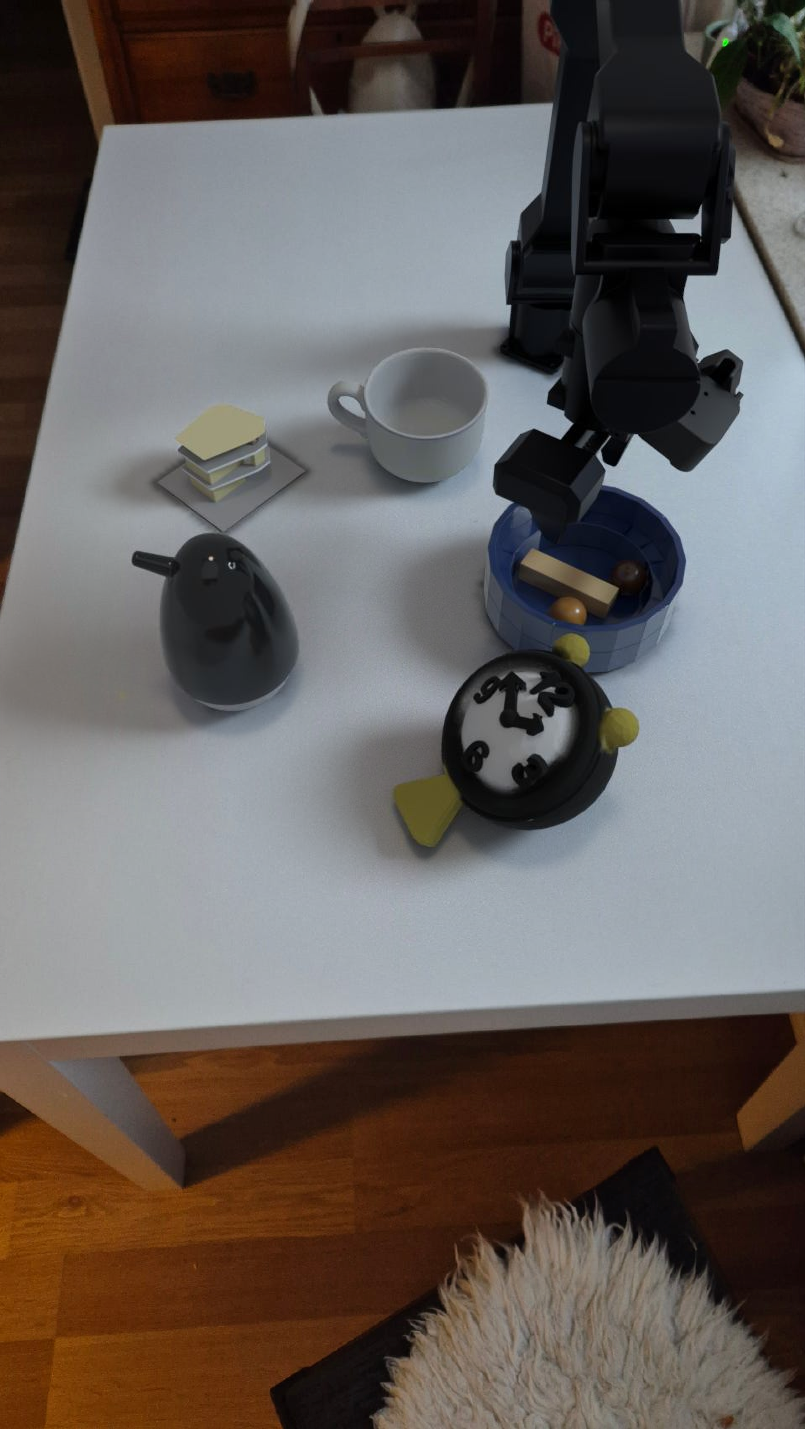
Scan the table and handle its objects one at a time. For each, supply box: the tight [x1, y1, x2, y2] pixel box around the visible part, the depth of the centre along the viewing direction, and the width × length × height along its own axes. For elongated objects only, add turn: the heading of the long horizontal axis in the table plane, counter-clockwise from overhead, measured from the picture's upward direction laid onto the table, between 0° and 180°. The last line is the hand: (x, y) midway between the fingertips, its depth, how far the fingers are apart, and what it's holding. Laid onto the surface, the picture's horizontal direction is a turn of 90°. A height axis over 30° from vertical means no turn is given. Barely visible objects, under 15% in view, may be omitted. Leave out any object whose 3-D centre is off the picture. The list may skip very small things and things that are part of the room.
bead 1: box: [548, 597, 587, 625], centre depth 80 cm, size 3×3×3 cm
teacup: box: [326, 346, 489, 483], centre depth 89 cm, size 14×11×8 cm
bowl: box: [483, 484, 687, 673], centre depth 81 cm, size 15×15×6 cm
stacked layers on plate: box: [157, 403, 306, 533], centre depth 89 cm, size 10×9×6 cm
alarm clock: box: [392, 633, 640, 848], centre depth 70 cm, size 12×15×15 cm
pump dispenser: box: [130, 532, 300, 712], centre depth 73 cm, size 10×10×15 cm
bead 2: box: [609, 560, 647, 597], centre depth 82 cm, size 3×3×3 cm
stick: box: [518, 548, 619, 619], centre depth 82 cm, size 8×2×2 cm, turn 57°
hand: (582, 501), depth 74 cm, fingers open, 9 cm apart
